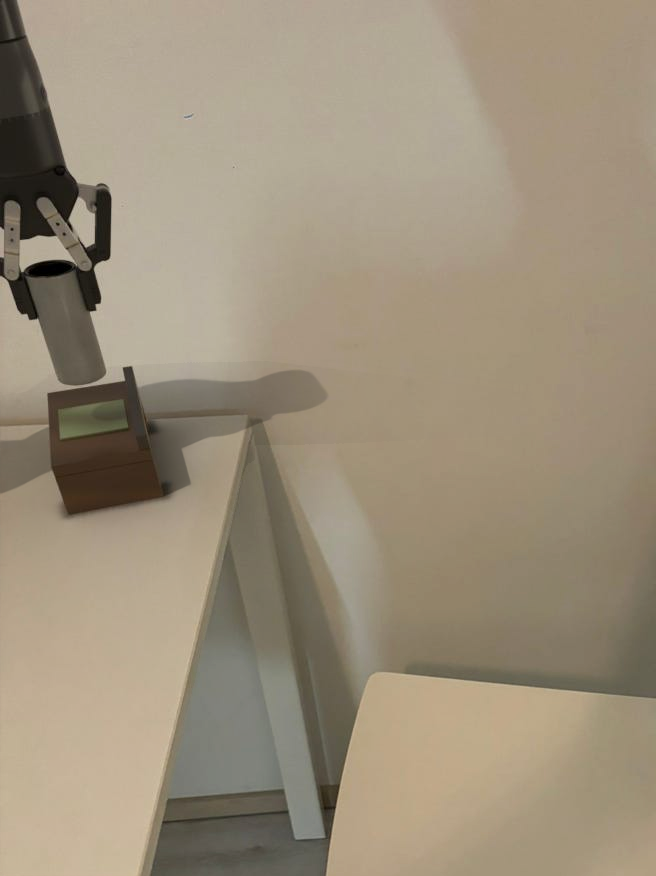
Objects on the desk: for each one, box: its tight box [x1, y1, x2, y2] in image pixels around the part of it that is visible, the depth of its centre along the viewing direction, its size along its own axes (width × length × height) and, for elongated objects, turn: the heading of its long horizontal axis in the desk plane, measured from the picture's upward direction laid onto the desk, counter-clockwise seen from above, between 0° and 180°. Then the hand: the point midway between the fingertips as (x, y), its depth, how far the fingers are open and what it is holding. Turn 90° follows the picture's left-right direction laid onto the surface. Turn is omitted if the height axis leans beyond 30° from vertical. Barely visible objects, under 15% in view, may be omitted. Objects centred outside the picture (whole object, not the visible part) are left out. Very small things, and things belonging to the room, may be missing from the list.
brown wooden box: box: [46, 365, 164, 516], centre depth 95 cm, size 16×9×8 cm, turn 20°
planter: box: [22, 259, 107, 387], centre depth 87 cm, size 4×4×10 cm
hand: (62, 311), depth 86 cm, fingers closed on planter, 4 cm apart
